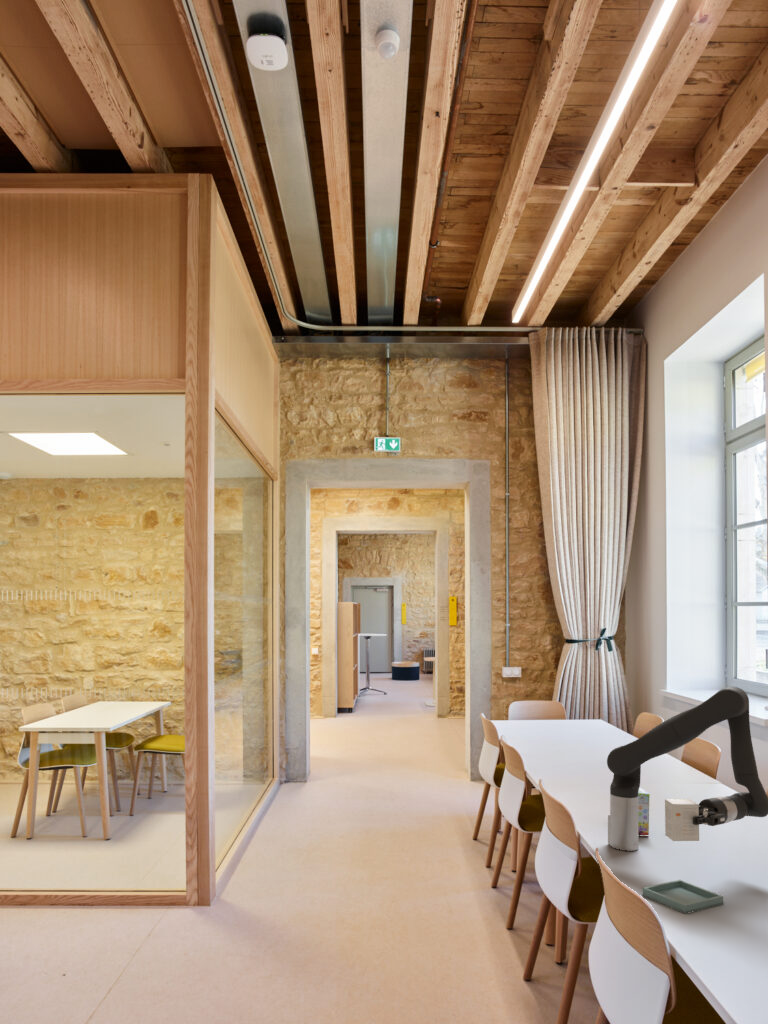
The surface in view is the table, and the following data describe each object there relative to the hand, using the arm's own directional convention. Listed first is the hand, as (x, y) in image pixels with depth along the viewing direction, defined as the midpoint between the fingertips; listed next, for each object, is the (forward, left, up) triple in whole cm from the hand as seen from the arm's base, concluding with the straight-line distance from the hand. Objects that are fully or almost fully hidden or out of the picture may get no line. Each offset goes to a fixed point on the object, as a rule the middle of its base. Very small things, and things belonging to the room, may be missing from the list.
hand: (682, 817), depth 233 cm
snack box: (-53, +38, -21) cm, 68 cm away
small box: (-1, +1, -6) cm, 6 cm away
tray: (+4, -5, -21) cm, 22 cm away
